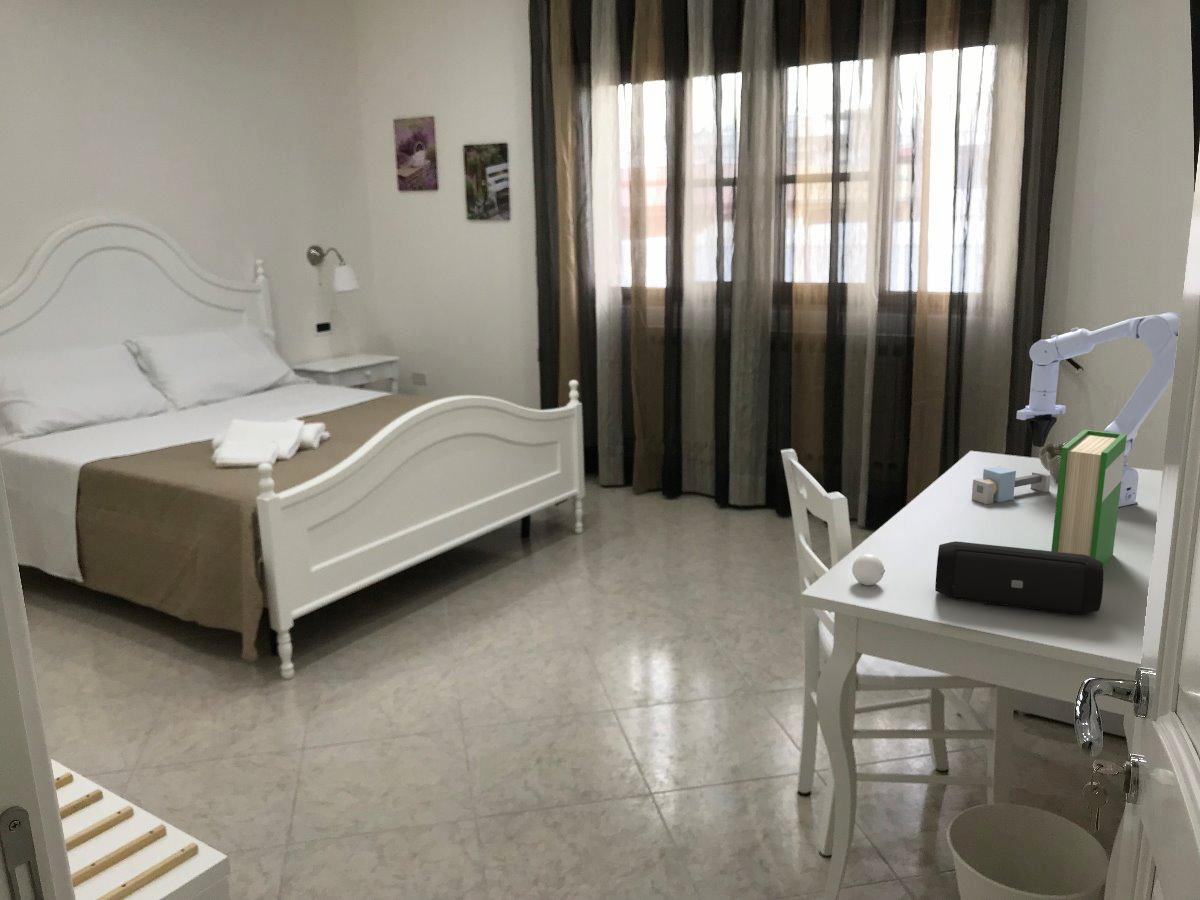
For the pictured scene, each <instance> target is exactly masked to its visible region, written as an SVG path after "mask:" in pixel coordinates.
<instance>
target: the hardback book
mask: <svg viewBox="0 0 1200 900" xmlns="http://www.w3.org/2000/svg"><path fill="white" fill-rule="evenodd" d="M1126 438H1127V434H1120V433H1111V432H1103V431H1101V430H1100V431H1099V430H1094V429H1093V430H1092V429H1083V430H1082V431H1081V432H1079V433H1078V434H1076V436H1074V437H1072V439H1071V440H1069V441H1068V442H1067V443H1066V444H1064V445H1063V446H1062V447H1061V452H1060V460H1059V461H1060V462H1059V471H1058V472H1059V474H1058V483H1057V491H1056V501H1055V511H1054V513H1055V514H1054V521H1053V529H1052V531H1053V532H1052V540H1051V550H1050V551H1054V552H1063V553H1073V554H1082V555H1087V556H1090V557H1092V558H1094V559H1096V560H1099V561H1101V562H1102V563H1103V569H1104V568H1105V567H1106V565H1107V564H1108V562H1109V560H1110V559H1111V558H1112V557H1113V555H1114V548H1115V538H1116V531H1117V530H1116V528H1117V523H1118V513H1119V507H1118V506H1119V497H1120V489H1121V480H1122V472H1123V463H1124V455H1125V446H1126Z"/></svg>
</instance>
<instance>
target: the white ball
mask: <svg viewBox="0 0 1200 900" xmlns="http://www.w3.org/2000/svg"><path fill="white" fill-rule="evenodd" d="M851 569H852V575H853V577H854V579H855V580H856V581H857V582H858V583H859V584H862V585H864V586H873V585H876V584H878V583H879V582H880V581H881V580H882V579H883V577H884V574H885V572H886V570H885V566H884V564H883V561H882V560H881V559H880V558H879V557H878V556H877V555H874V554H872V553H865V554H861V555H860V556H858V557H857V558H855V560H854V561H853V564H852V568H851Z"/></svg>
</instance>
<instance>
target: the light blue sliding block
mask: <svg viewBox="0 0 1200 900" xmlns="http://www.w3.org/2000/svg"><path fill="white" fill-rule="evenodd" d="M1016 473H1017V471H1016V470H1015V469H1010V468H1007V467H1003V466H1001V465H999V466H998V465H997V466H993V467H988V468H983V472H982V479H983V480H987V479H992V480H994V481H995V483H996V484H997V492H996V494H995V495H994V497H993V502H994V503H995V502H996V503H1002V502H1007V501H1013V500H1014V497H1015V488H1016V487H1015V478H1016V475H1017V474H1016Z"/></svg>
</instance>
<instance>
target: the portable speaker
mask: <svg viewBox="0 0 1200 900" xmlns="http://www.w3.org/2000/svg"><path fill="white" fill-rule="evenodd" d="M937 551H938V552H937V559H936V572H935V574H936V575H935V585H934V586H935V588H934V589H935V590H934V591H935V592H937V593H939V594H941V595H943V596H945V597H947V598H948V599H954V600H959V601H968V602H975V603H983V604H989V605H990V604H992V605H998V606H999V605H1000V606H1007V607H1008V606H1009V607H1015V608H1023V609H1031V610H1040V611H1049V612H1056V613H1063V614H1064V613H1065V614H1072V615H1085V614H1090V613H1095V612H1098V611H1100V608H1101V604H1102V600H1103V592H1104V591H1103V590H1104V574H1105V573H1104V568H1103V563H1102V562H1101V561H1099V560H1096V559H1094V558H1092V557H1090V556H1087V555H1082V554H1073V553H1063V552H1054V551H1051V550H1045V549H1032V548H1022V547H1013V546H1005V545H994V544H985V543H976V542H965V541H949V542H945V543H941V544H939V545H938V550H937Z"/></svg>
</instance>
